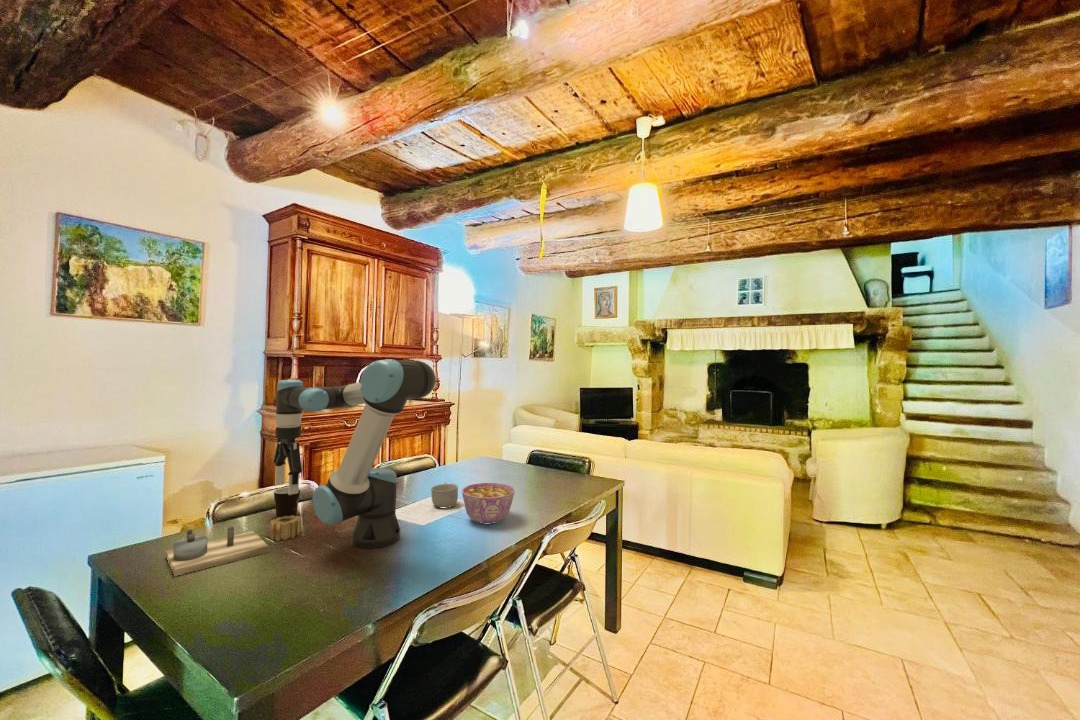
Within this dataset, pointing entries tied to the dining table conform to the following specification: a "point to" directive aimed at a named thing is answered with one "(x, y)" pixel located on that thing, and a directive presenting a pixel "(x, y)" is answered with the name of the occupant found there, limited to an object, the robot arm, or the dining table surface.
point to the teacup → (444, 495)
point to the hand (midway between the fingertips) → (286, 489)
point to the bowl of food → (488, 501)
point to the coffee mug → (286, 502)
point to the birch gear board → (213, 551)
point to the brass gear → (285, 527)
